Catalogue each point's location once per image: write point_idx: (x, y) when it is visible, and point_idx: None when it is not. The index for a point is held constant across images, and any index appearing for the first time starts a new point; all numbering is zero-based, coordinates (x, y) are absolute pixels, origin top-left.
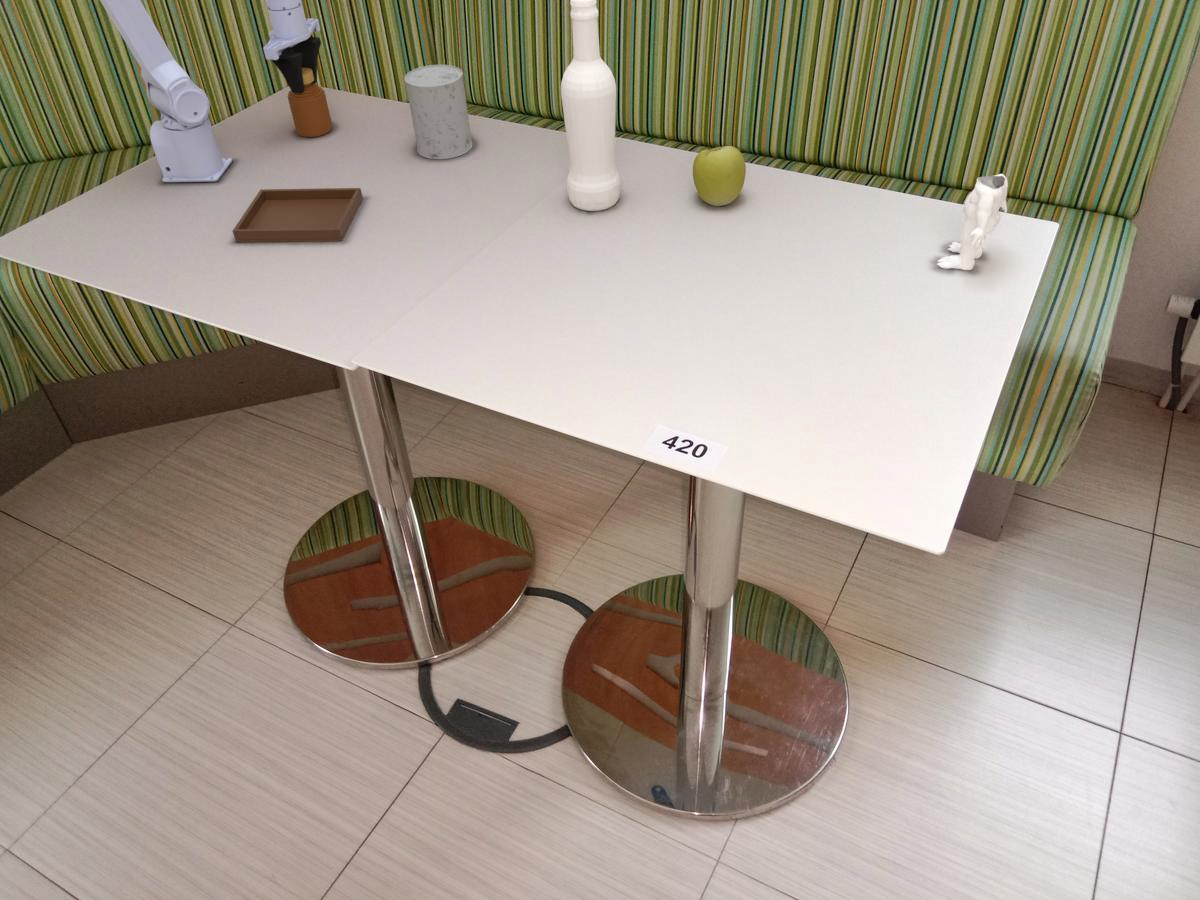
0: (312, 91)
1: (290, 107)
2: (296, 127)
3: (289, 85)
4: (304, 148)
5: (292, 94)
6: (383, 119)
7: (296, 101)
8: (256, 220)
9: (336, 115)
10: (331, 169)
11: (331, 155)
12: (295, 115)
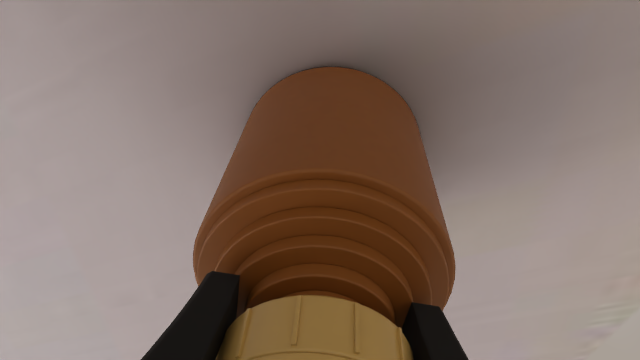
0: None
1: (251, 151)
2: (255, 111)
3: (185, 311)
4: (144, 162)
5: (225, 249)
6: None
7: (194, 255)
8: None
9: (506, 191)
10: (26, 294)
11: (119, 270)
12: (229, 163)
